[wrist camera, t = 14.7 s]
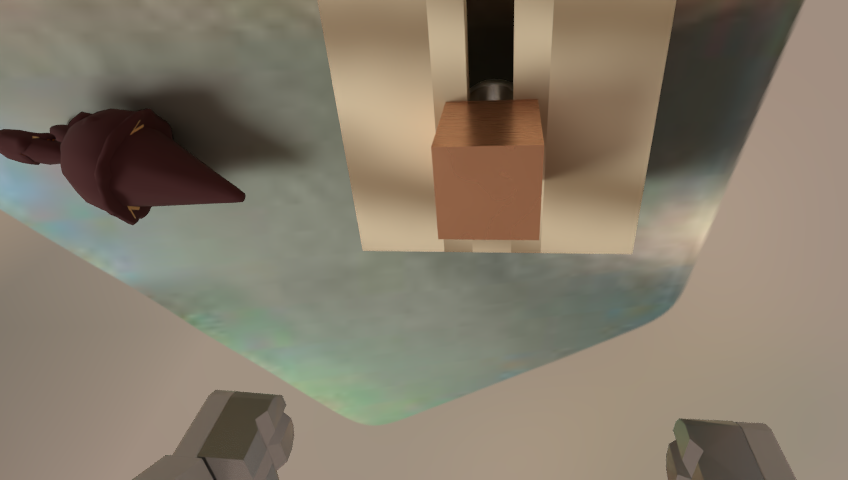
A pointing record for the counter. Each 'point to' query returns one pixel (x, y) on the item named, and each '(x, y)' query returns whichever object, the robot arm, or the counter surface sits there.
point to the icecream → (122, 162)
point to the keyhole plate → (532, 79)
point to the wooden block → (489, 166)
